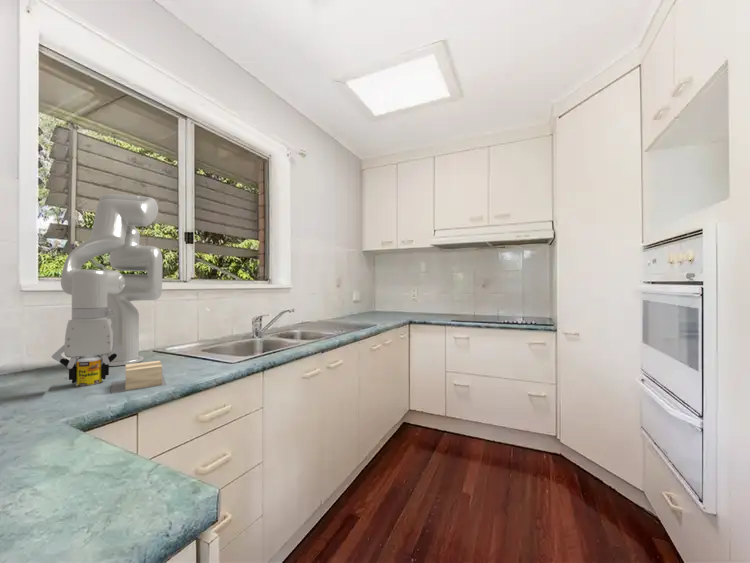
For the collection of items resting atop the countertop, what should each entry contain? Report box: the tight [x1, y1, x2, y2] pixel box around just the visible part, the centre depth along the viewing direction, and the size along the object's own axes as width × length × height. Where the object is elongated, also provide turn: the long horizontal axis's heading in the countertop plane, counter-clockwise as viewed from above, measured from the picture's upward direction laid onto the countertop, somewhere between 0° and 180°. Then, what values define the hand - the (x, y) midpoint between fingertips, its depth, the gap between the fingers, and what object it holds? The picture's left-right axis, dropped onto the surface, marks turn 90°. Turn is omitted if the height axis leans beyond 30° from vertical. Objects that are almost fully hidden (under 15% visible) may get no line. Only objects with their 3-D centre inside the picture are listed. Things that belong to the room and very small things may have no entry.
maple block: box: [125, 360, 163, 390], centre depth 92 cm, size 8×8×5 cm
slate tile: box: [110, 374, 167, 394], centre depth 93 cm, size 12×12×1 cm
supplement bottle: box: [75, 355, 103, 387], centre depth 92 cm, size 6×6×10 cm
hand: (89, 379), depth 92 cm, fingers closed on supplement bottle, 5 cm apart
